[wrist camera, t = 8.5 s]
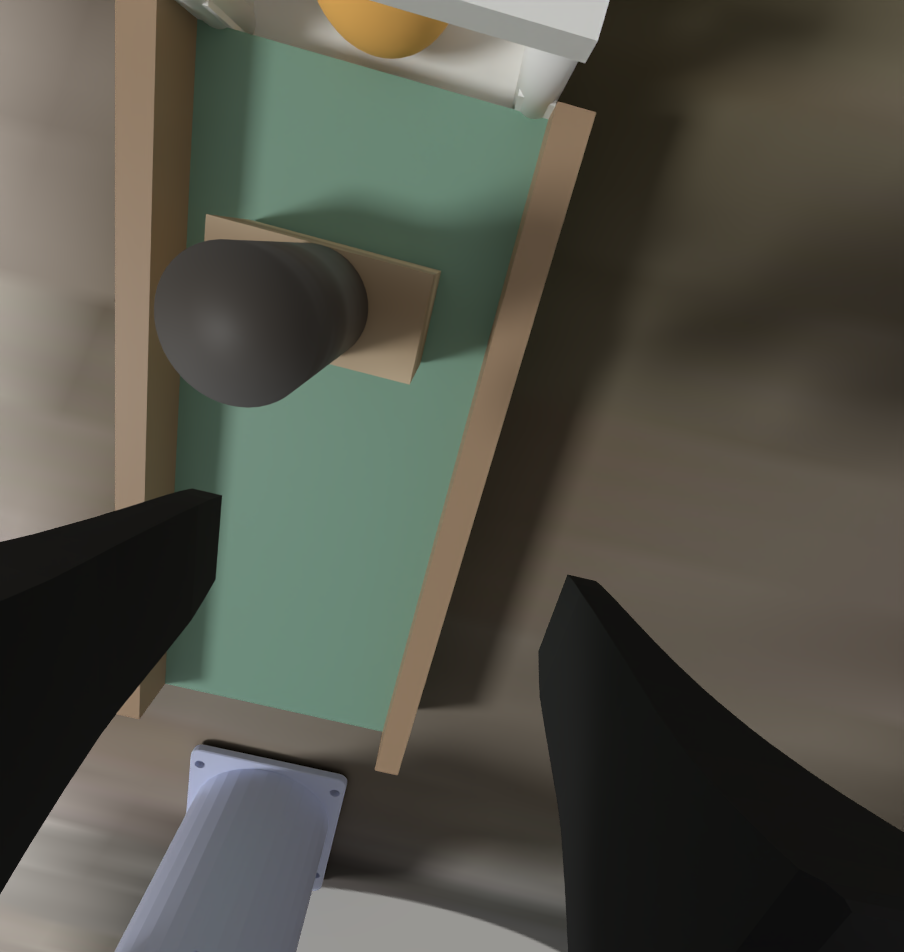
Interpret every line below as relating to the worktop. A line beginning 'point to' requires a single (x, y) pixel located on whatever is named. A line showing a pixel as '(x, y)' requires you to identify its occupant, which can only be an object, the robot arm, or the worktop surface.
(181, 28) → the pitch
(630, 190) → the worktop surface
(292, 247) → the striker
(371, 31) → the ball
